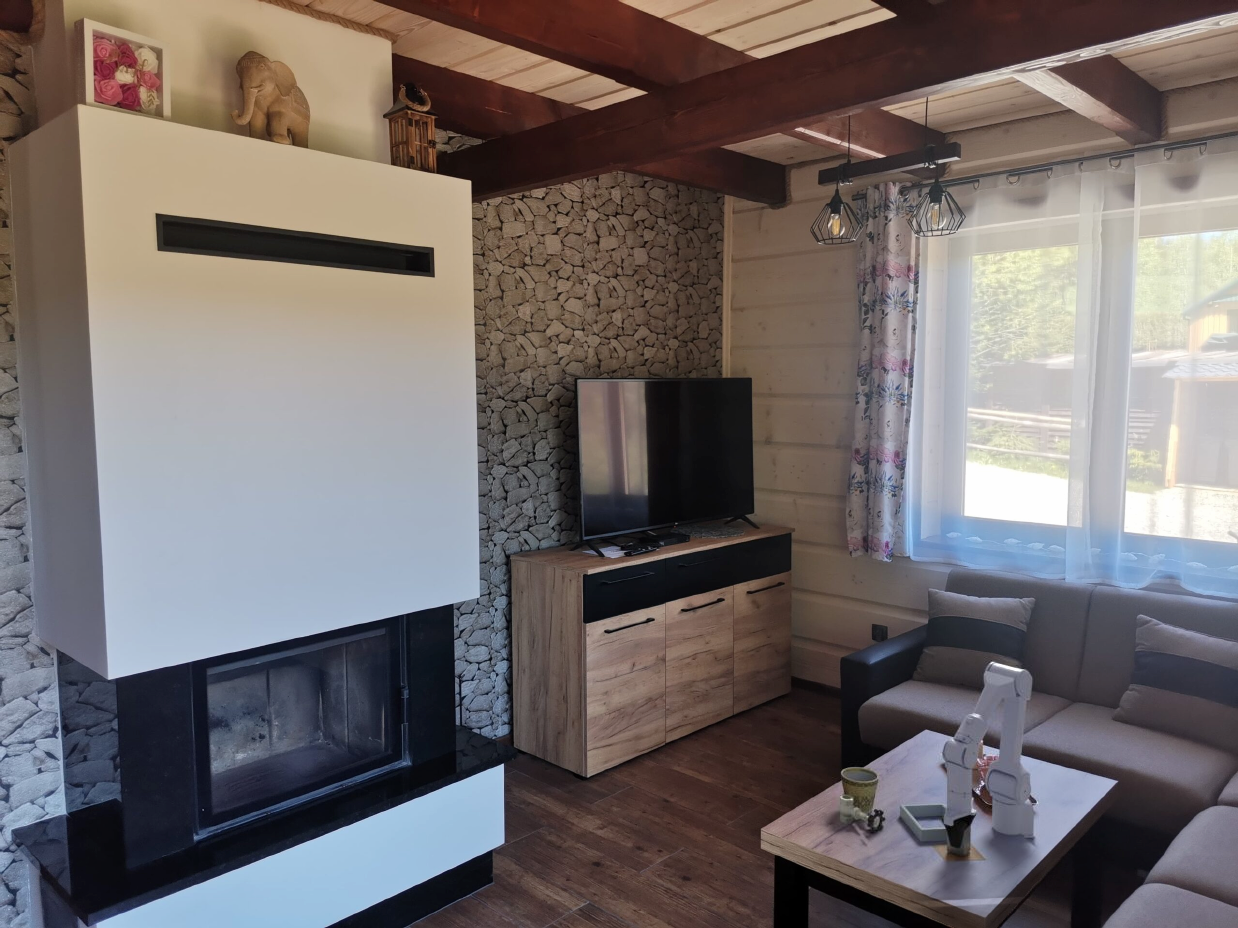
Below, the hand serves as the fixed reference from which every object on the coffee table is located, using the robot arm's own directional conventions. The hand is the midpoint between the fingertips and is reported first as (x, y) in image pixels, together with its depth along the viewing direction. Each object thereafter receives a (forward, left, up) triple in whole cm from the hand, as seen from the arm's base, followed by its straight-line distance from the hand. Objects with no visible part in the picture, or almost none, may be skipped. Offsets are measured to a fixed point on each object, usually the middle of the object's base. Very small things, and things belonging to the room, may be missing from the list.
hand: (958, 842), depth 215 cm
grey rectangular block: (0, 0, -2) cm, 2 cm away
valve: (+19, -17, -4) cm, 26 cm away
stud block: (0, 0, -3) cm, 3 cm away
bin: (+1, -13, -3) cm, 13 cm away
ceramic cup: (+15, -28, -3) cm, 32 cm away
